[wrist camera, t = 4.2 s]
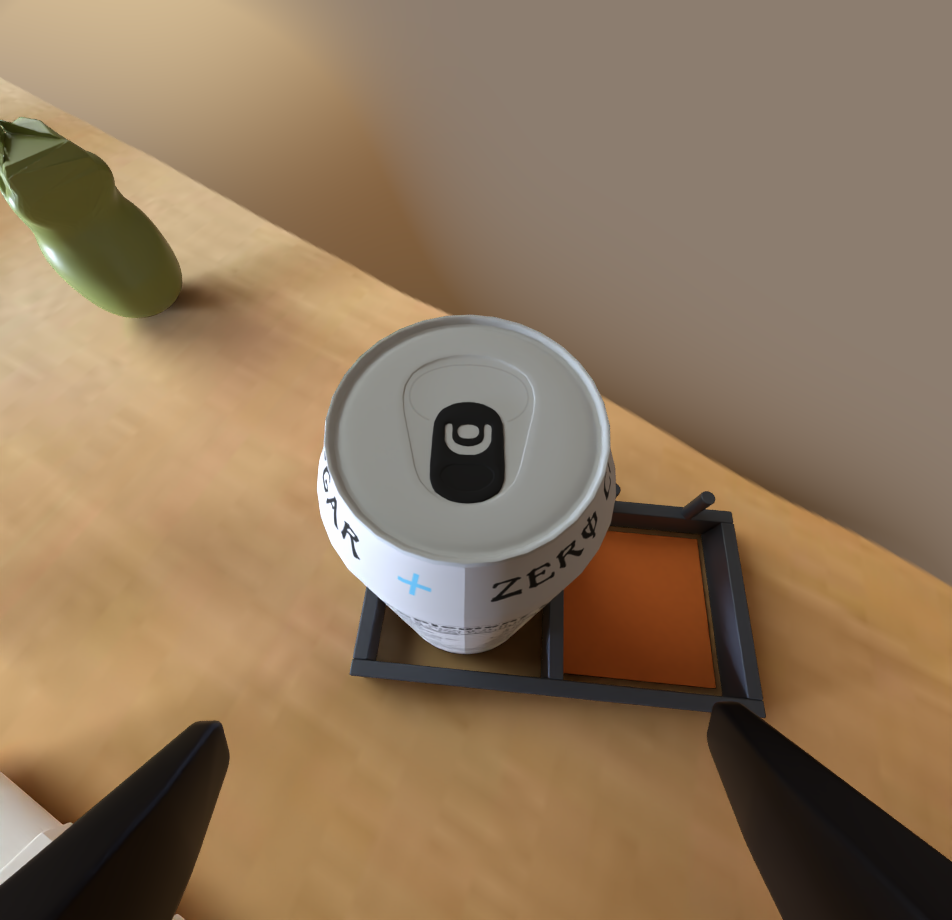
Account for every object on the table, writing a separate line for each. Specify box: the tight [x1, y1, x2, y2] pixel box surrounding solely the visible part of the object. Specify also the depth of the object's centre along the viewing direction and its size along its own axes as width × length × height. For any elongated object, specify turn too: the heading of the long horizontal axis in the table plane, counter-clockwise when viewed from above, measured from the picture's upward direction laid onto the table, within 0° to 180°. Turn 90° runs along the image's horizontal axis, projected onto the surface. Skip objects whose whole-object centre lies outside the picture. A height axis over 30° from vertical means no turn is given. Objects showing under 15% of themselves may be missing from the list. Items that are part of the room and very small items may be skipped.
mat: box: [563, 531, 716, 689], centre depth 21 cm, size 7×7×1 cm
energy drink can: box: [317, 315, 616, 654], centre depth 14 cm, size 6×6×15 cm
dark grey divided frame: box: [350, 484, 766, 718], centre depth 19 cm, size 8×16×4 cm, turn 85°
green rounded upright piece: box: [0, 117, 182, 318], centre depth 24 cm, size 6×5×10 cm
